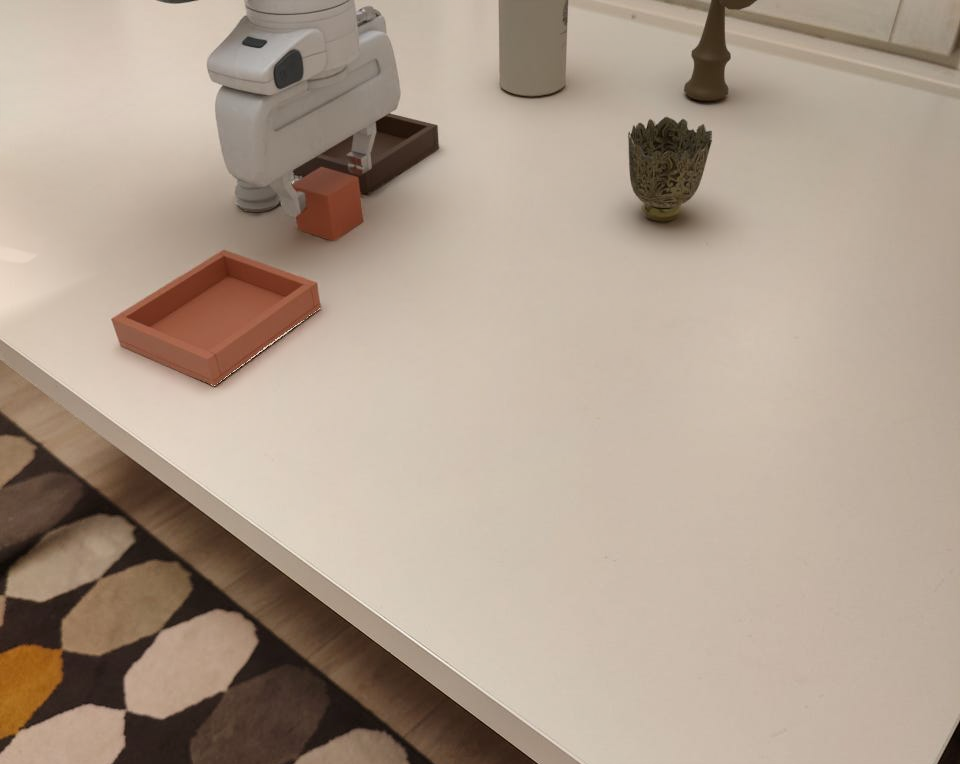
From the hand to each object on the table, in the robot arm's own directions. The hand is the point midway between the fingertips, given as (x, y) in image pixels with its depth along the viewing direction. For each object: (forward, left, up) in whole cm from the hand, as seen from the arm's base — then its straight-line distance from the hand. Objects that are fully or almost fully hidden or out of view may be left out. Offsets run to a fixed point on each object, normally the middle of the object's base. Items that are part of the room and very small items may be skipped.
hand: (329, 191), depth 88 cm
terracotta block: (0, 0, -3) cm, 3 cm away
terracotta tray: (-16, -9, -3) cm, 19 cm away
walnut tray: (+10, +10, -3) cm, 15 cm away
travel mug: (+37, +14, -4) cm, 40 cm away
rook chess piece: (-3, +9, -4) cm, 10 cm away
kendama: (+50, -2, -4) cm, 50 cm away
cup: (+25, -19, -4) cm, 31 cm away
